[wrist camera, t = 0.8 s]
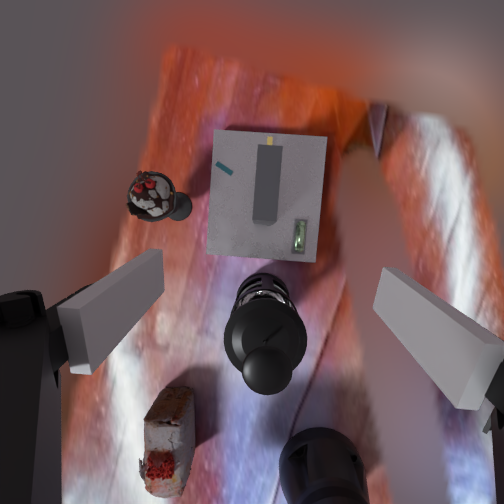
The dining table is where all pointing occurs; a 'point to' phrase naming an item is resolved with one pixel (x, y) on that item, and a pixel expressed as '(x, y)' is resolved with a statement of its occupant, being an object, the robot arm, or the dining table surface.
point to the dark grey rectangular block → (267, 183)
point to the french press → (265, 334)
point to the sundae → (156, 198)
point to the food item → (169, 442)
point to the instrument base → (242, 197)
